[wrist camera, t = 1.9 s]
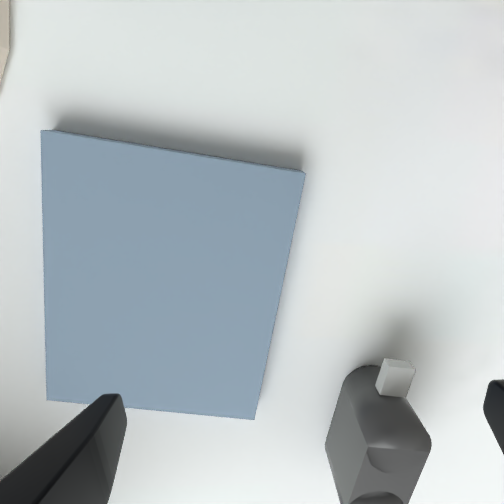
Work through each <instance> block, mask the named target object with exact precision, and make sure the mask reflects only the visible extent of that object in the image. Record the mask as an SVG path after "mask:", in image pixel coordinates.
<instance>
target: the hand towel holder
mask: <svg viewBox="0 0 504 504" xmlns="http://www.w3.org/2000/svg"><path fill="white" fill-rule="evenodd" d="M8 53H9V0H0V83H1V79H2V75H3V72H4V68H5V64H6V61H7V57H8Z"/></svg>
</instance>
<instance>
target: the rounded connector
mask: <svg viewBox="0 0 504 504" xmlns="http://www.w3.org/2000/svg"><path fill="white" fill-rule="evenodd" d="M415 371H416V369H415V368H414V366H413V365H412V363H411V362H410V361H405V360H396V359H388V358H384V360H383V363H382V366H381V367H379V366H374V365H369V366H363V367H360V368H358V369H356V370H354V371H353V372H351V373H350V374H349V375H348V376H347V377H346V379H345V380H344V382H343V385H342V388H341V391H340V395H339V398H338V402H337V405H336V408H335V412H334V415H333V418H332V422H331V425H330V429H329V432H328V435H327V439H326V442H325V450H326V453H327V457H328V460H329V464H330V468H331V471H332V475H333V478H334V482H335V485H336V489H337V493H338V496H339V500H340V503H341V504H408V503H409V500H410V498H411V496H412V493H413V491H414V489H415V486H416V484H417V481H418V479H419V477H420V474H421V472H422V470H423V467H424V465H425V462H426V460H427V458H428V455H429V453H430V450H431V438H430V436H429V434H428V433H427V431H426V429H425V428H424V426H423V425H422V423H421V421H420V420H419V418H418V417H417V415H416V413H415V412H414V410H413V409H412V407H411V405H410V404H409V402H408V401H407V399H406V395H407V393H408V390H409V387H410V385H411V382H412V379H413V377H414V374H415Z"/></svg>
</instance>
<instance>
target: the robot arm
mask: <svg viewBox="0 0 504 504" xmlns="http://www.w3.org/2000/svg"><path fill="white" fill-rule="evenodd" d="M483 410H484V414H485V417H486V419H487V421H488V423H489V425H490V427H491V429H492V431H493V434H494V436H495V438H496V440H497V442H498V444H499V446H500V448H501V450H502V452H503V454H504V380H492V381H491V382H490V383H489V385H488V389H487V393H486V397H485V401H484V405H483ZM126 426H127V418H126V413H125V409H124V405H123V400H122V397H121V395H120V394H118V393H109V394H103V395H101V396H100V397H98V398H97V399H96V400H95V401H94V402H93V403H91V404H90V405H89V406H88V407H87V408H86V409H84V410H83V411H82V412H81V413H80V414H78V415H77V416H76V417H75V418H74V419H73V420H71V421H70V422H69V423H68V424H67V425H66V426H64V427H63V428H62V429H61V430H60V431H58V432H57V433H56V434H55V435H54V436H53V437H51V438H50V439H49V440H48V441H47V442H46V443H44V444H43V445H42V446H41V447H40V448H38V449H37V450H36V451H35V452H34V453H33V454H31V455H30V456H29V457H28V458H27V459H25V460H24V461H23V462H22V463H21V464H20V465H18V466H17V467H16V468H15V469H14V470H13V471H11V472H10V473H9V474H8V475H7V476H5V477H4V478H3V479H2V480H1V481H0V504H107V503H108V500H109V497H110V494H111V490H112V486H113V482H114V478H115V474H116V470H117V465H118V461H119V457H120V453H121V448H122V444H123V440H124V436H125V431H126Z"/></svg>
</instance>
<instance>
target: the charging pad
mask: <svg viewBox="0 0 504 504" xmlns="http://www.w3.org/2000/svg"><path fill="white" fill-rule="evenodd" d="M41 168H42V213H43V257H44V302H45V346H46V391H47V400H52V401H62V402H73V403H83V404H91V403H93V402H94V401H95V400H96V399H97V398H98V397H100V396H101V395H103V394H109V393H118V394H120V395H121V397H122V400H123V405H124V407H125V408H135V409H145V410H156V411H166V412H177V413H187V414H197V415H208V416H218V417H229V418H239V419H249V420H254V419H255V414H256V409H257V404H258V400H259V395H260V390H261V385H262V381H263V376H264V371H265V366H266V361H267V357H268V352H269V347H270V342H271V338H272V333H273V328H274V323H275V318H276V314H277V309H278V304H279V299H280V294H281V290H282V285H283V280H284V275H285V271H286V266H287V261H288V256H289V251H290V247H291V242H292V237H293V232H294V228H295V223H296V218H297V213H298V208H299V204H300V199H301V194H302V189H303V185H304V180H305V175H306V174H305V173H304V172H303V171H300V170H293V169H287V168H281V167H275V166H269V165H263V164H257V163H251V162H245V161H239V160H233V159H227V158H221V157H214V156H208V155H202V154H196V153H190V152H184V151H178V150H172V149H166V148H160V147H154V146H148V145H141V144H135V143H129V142H123V141H117V140H111V139H105V138H99V137H93V136H87V135H81V134H75V133H69V132H62V131H56V130H41Z"/></svg>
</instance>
